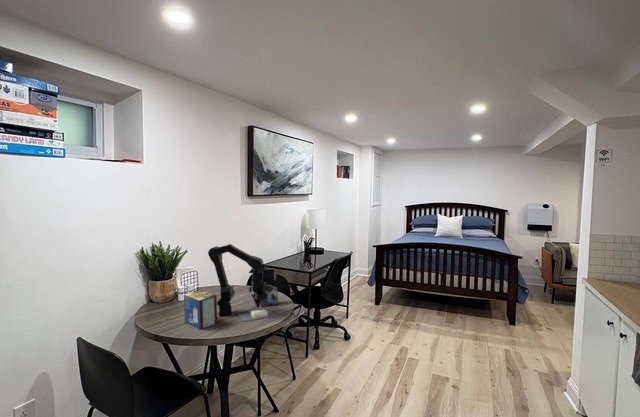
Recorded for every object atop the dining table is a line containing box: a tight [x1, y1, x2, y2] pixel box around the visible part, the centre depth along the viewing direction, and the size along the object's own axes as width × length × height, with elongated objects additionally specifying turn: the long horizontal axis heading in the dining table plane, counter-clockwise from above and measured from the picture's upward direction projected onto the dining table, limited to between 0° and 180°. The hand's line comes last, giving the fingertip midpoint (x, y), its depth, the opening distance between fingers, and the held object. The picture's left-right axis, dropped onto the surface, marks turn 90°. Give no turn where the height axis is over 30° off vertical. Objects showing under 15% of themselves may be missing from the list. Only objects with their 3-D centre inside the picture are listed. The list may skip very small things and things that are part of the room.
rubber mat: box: [238, 309, 276, 323], centre depth 192 cm, size 18×12×1 cm, turn 116°
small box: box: [259, 285, 279, 308], centre depth 211 cm, size 11×6×10 cm, turn 112°
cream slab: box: [250, 308, 268, 318], centre depth 191 cm, size 8×2×6 cm
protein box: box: [183, 290, 218, 330], centre depth 181 cm, size 10×15×16 cm
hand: (257, 307), depth 194 cm, fingers closed
